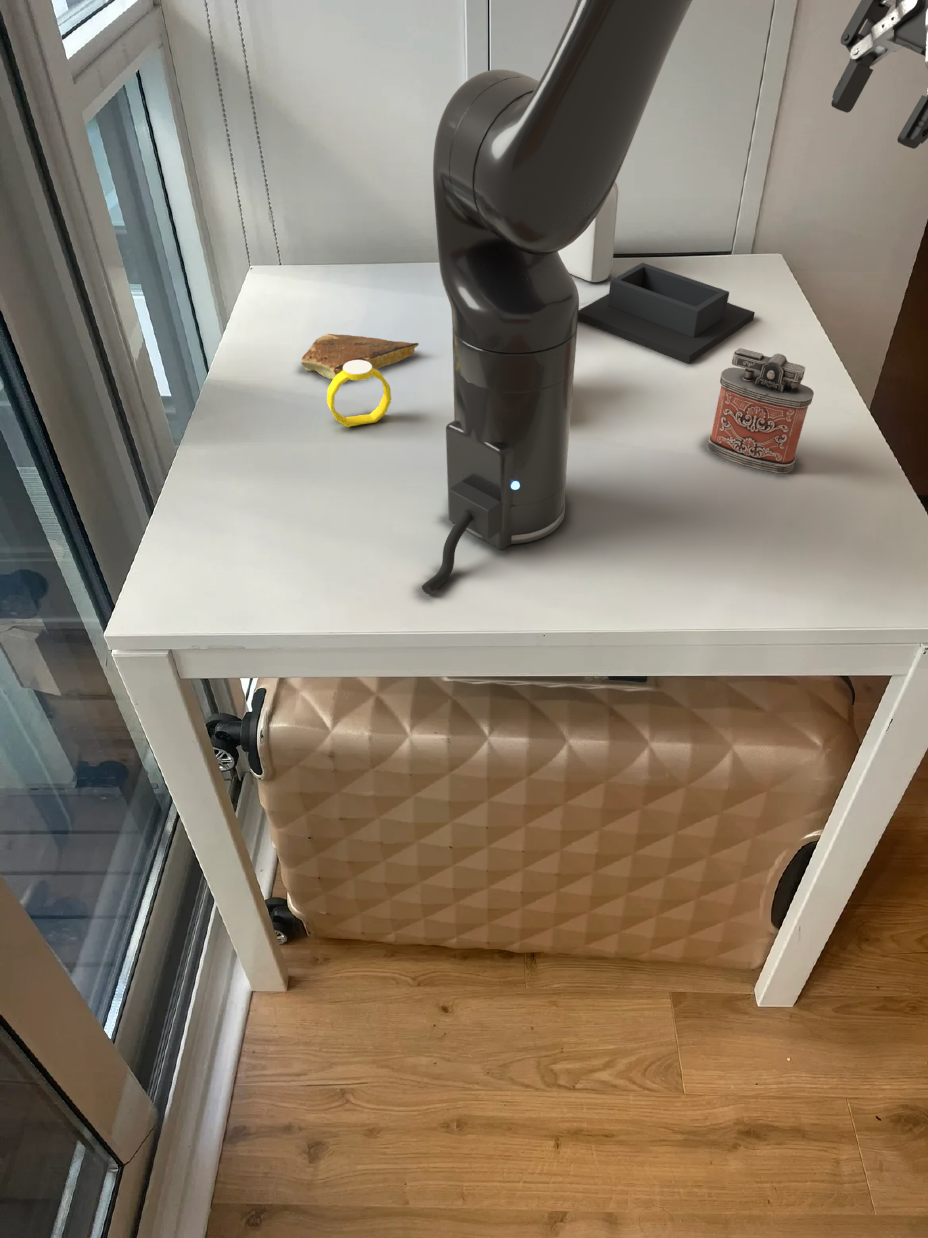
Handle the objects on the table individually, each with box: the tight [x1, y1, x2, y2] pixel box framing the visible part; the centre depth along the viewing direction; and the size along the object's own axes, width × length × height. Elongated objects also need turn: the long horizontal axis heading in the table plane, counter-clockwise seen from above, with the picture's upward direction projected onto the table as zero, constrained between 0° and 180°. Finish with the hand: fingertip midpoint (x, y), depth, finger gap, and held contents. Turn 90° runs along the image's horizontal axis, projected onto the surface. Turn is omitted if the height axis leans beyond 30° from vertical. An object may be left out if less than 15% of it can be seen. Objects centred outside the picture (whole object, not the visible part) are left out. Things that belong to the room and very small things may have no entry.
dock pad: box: [578, 262, 756, 365], centre depth 105 cm, size 13×15×4 cm
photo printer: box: [558, 181, 619, 283], centre depth 112 cm, size 10×4×12 cm, turn 39°
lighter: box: [706, 347, 815, 474], centre depth 83 cm, size 8×3×10 cm, turn 58°
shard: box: [300, 333, 419, 380], centre depth 99 cm, size 11×8×2 cm
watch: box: [326, 360, 392, 428], centre depth 90 cm, size 6×3×6 cm, turn 111°
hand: (871, 126), depth 83 cm, fingers open, 8 cm apart
